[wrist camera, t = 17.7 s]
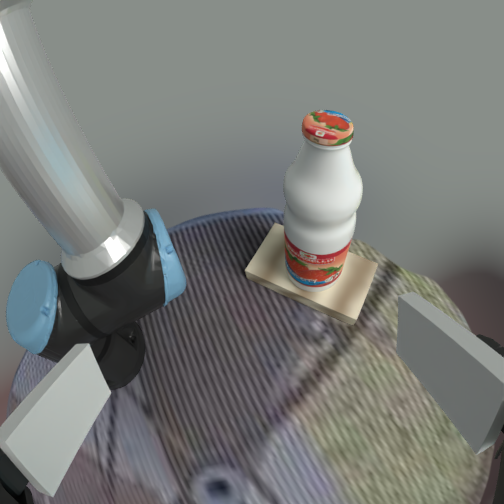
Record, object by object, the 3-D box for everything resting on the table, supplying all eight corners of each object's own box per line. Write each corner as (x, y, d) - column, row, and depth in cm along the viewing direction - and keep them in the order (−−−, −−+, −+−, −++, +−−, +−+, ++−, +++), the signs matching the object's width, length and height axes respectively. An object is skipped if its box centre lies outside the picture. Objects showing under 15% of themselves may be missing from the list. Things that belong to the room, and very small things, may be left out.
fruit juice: (349, 256, 49) (385, 114, 25) (327, 303, 45) (363, 167, 21) (300, 236, 52) (301, 91, 28) (275, 279, 48) (259, 135, 25)
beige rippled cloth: (247, 278, 52) (244, 270, 50) (275, 232, 57) (275, 222, 54) (352, 325, 45) (356, 319, 43) (373, 272, 50) (377, 263, 47)
